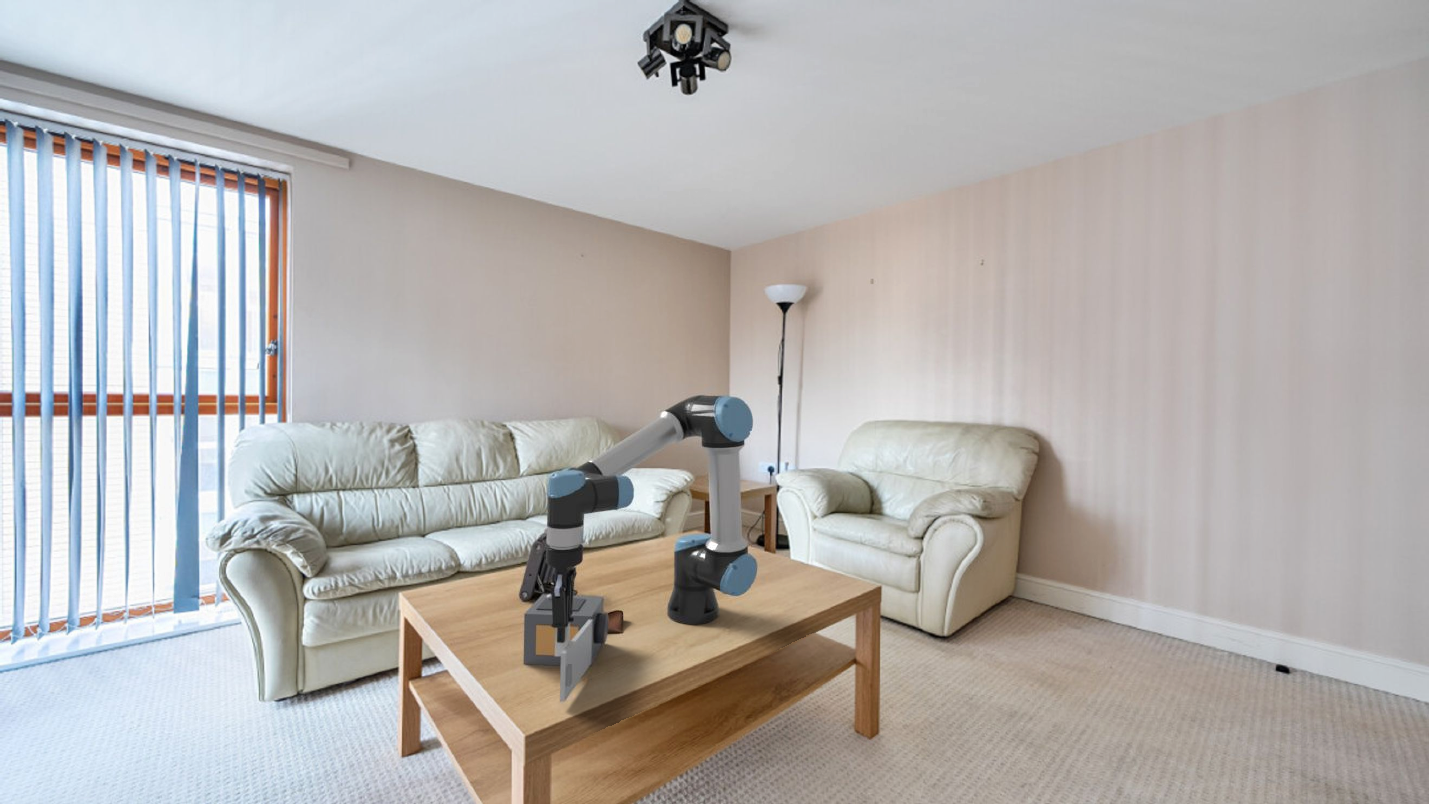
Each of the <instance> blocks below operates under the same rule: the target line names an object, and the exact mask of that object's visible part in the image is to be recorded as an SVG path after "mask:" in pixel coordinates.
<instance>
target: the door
mask: <svg viewBox="0 0 1429 804" xmlns="http://www.w3.org/2000/svg"><path fill="white" fill-rule="evenodd" d="M592 649H593V619H588V621H587V622H586V623H585V625H584V626H583V627H582V628H581V629H580V631H579V632H578V633H577V634H576V635H575V637H574V638H573V639H572V640H571V642H570V643H569V644H568V645H567V646H566V648H565V649H564V650H563V651H562V652H561V665H560V682H559V689H560V690H559V702H563V703H564V702H566V701H567V699H568V697H570V694H571V693H572V692H573V690H574V689H575V687H576V686H577V685H578V683H579V682H580V680H581V679H582V677H583V676H584V674H585V673H586V672H587V670H588V669H589V668H590V667H589V666H590V664H591V663H592ZM592 664H593V663H592Z"/></svg>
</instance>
